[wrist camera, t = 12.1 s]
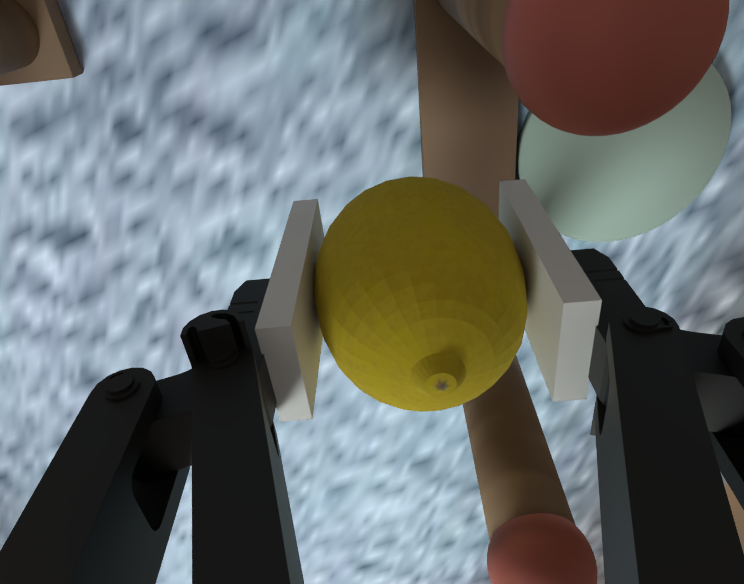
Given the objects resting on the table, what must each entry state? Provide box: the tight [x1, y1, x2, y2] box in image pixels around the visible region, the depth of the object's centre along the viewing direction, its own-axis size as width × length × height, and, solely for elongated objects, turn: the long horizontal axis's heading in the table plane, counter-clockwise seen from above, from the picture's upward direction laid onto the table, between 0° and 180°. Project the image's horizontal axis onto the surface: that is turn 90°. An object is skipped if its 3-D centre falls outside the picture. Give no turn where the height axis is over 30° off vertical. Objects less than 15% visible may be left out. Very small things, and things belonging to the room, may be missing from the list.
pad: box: [516, 64, 732, 242], centre depth 21 cm, size 8×8×1 cm
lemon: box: [314, 177, 527, 412], centre depth 15 cm, size 6×6×8 cm
